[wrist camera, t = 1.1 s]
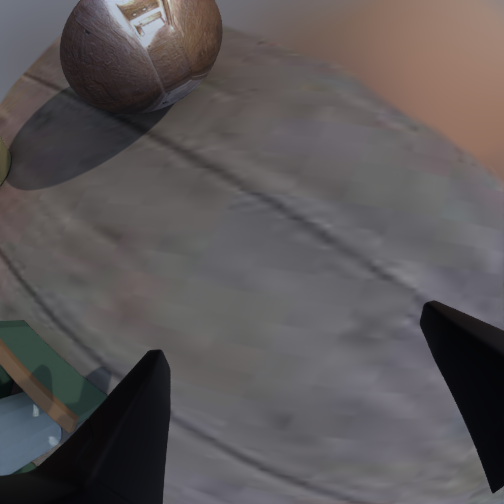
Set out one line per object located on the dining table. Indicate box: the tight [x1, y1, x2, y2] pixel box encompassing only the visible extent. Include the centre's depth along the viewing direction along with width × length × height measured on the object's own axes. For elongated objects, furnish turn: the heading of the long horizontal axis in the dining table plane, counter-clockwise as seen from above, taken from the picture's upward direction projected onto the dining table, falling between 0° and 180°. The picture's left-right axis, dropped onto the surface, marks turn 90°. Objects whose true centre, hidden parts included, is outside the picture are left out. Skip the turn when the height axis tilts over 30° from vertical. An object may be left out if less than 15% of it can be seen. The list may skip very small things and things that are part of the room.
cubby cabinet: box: [0, 321, 107, 474], centre depth 17 cm, size 13×19×10 cm
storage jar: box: [0, 392, 61, 476], centre depth 15 cm, size 7×7×13 cm
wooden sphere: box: [60, 0, 222, 114], centre depth 20 cm, size 15×15×15 cm
